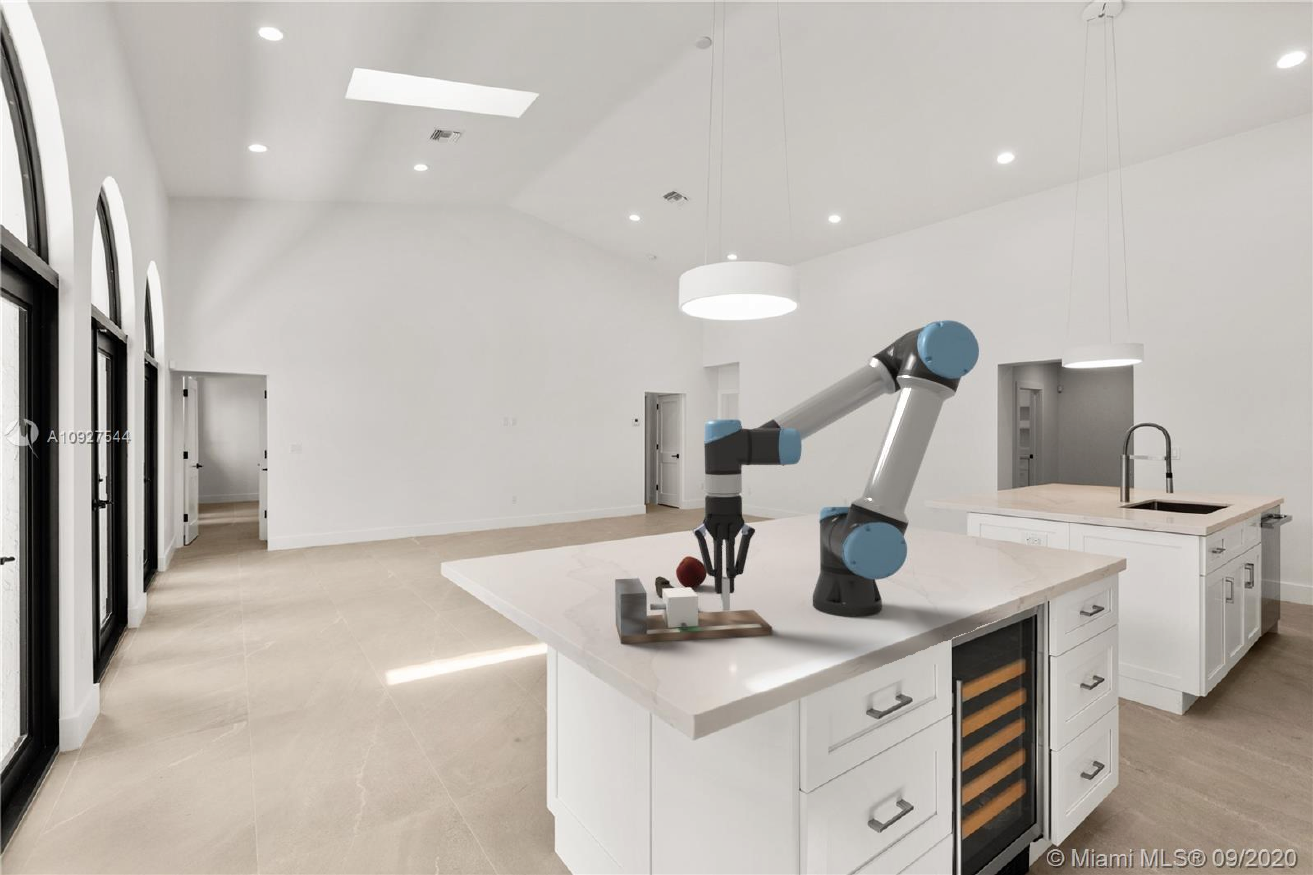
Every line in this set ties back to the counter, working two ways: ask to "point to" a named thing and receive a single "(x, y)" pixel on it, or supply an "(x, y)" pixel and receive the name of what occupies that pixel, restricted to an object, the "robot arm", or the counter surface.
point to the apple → (691, 572)
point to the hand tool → (661, 585)
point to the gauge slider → (678, 607)
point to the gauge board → (653, 627)
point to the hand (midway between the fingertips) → (724, 608)
